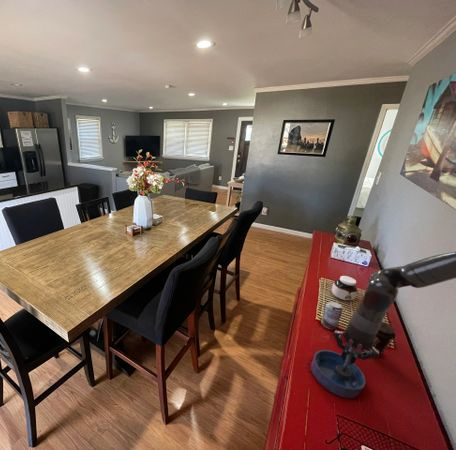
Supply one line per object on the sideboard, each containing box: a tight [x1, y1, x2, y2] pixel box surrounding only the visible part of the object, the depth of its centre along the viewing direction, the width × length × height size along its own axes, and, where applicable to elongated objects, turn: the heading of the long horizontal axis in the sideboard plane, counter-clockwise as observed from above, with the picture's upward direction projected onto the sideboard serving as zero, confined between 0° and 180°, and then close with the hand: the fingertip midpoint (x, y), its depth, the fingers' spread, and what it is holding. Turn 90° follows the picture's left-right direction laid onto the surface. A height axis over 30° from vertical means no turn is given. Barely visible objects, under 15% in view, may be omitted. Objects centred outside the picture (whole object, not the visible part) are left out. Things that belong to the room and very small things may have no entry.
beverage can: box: [320, 301, 343, 330], centre depth 109 cm, size 6×7×12 cm
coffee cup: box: [364, 321, 397, 357], centre depth 97 cm, size 9×8×13 cm
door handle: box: [334, 347, 355, 381], centre depth 89 cm, size 15×4×7 cm, turn 135°
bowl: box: [310, 349, 366, 399], centre depth 87 cm, size 15×15×5 cm
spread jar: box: [331, 275, 358, 302], centre depth 130 cm, size 12×11×12 cm
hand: (347, 360), depth 89 cm, fingers closed on door handle, 1 cm apart
